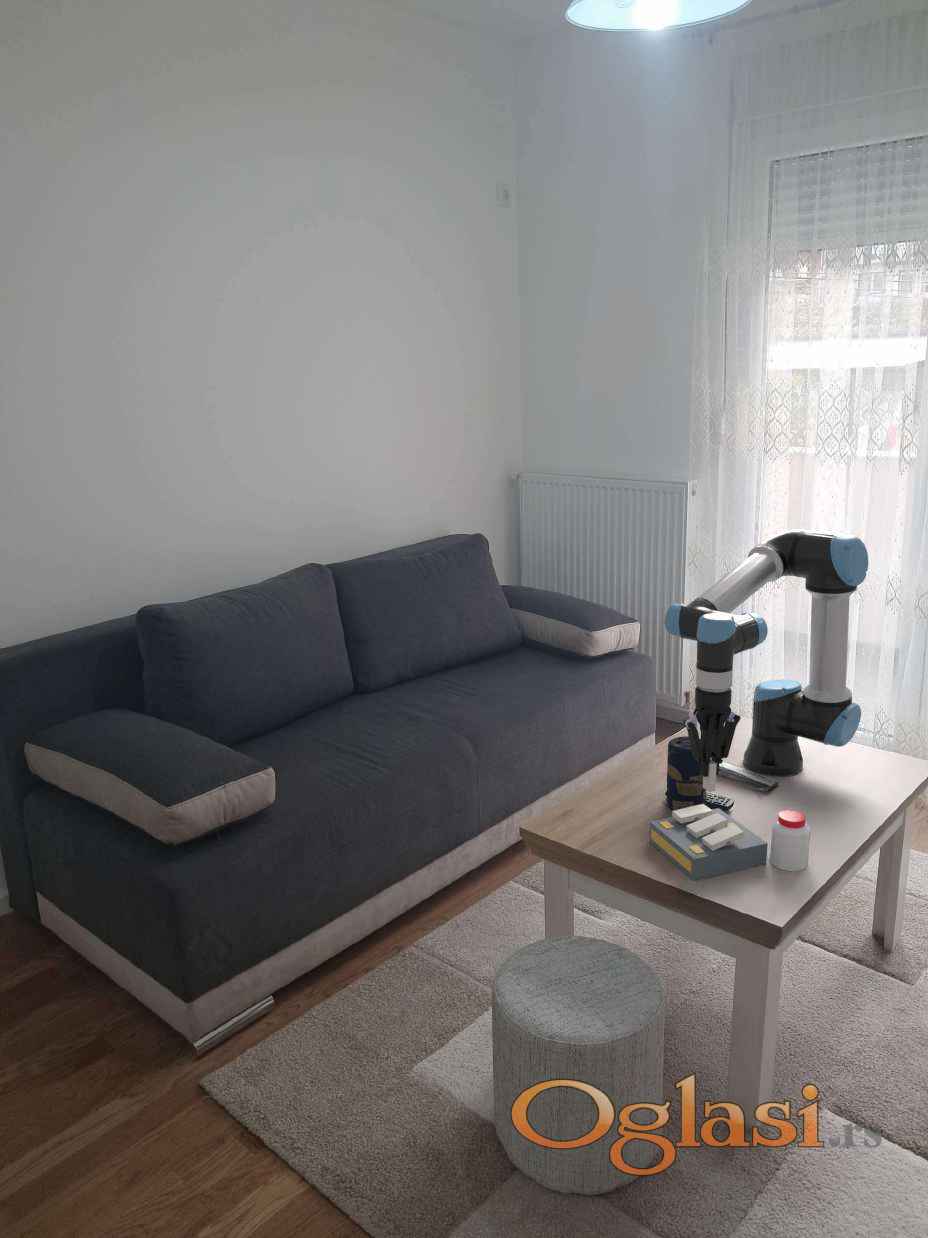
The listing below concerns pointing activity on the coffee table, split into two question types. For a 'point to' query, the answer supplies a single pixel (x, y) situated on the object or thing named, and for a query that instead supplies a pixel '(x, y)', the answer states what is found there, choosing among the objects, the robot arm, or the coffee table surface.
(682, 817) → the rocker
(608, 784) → the coffee table surface
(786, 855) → the pill bottle
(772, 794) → the coffee table surface
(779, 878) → the coffee table surface
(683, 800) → the canister
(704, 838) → the block
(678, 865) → the switch unit
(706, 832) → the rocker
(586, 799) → the coffee table surface
